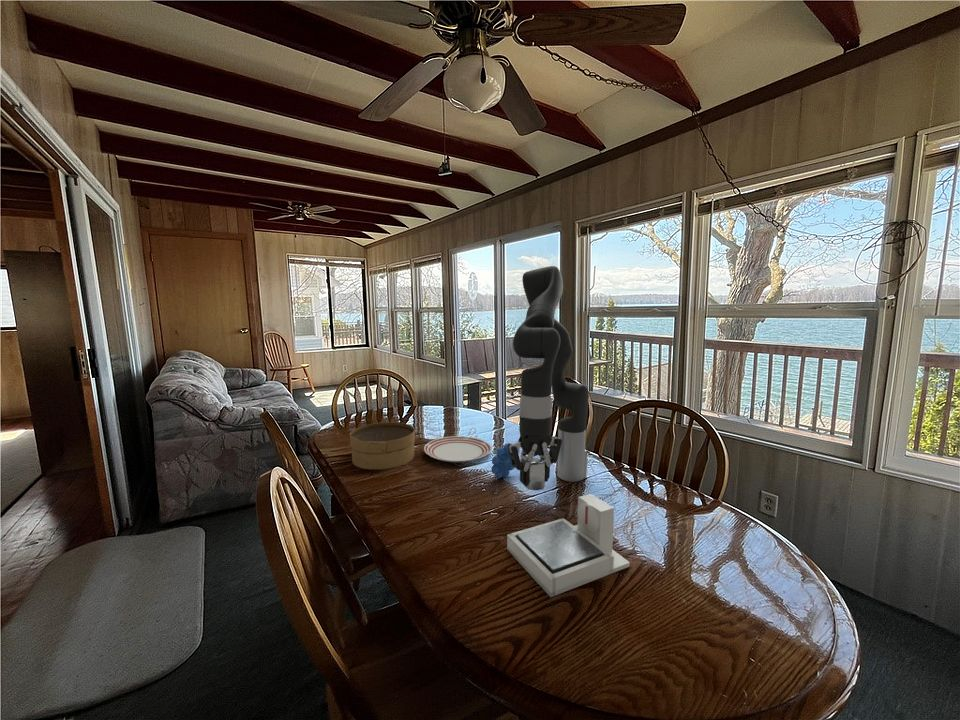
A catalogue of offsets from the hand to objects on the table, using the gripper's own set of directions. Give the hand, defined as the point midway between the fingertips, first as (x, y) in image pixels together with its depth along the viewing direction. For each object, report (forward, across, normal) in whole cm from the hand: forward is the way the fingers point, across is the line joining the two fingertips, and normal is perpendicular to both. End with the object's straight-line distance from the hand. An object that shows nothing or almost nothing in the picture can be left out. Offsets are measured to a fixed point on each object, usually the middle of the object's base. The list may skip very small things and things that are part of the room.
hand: (534, 482), depth 95 cm
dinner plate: (+18, -6, -68) cm, 71 cm away
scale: (+18, -6, +6) cm, 19 cm away
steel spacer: (+1, 0, 0) cm, 1 cm away
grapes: (+18, -13, -42) cm, 47 cm away
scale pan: (+14, -3, +6) cm, 16 cm away
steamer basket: (+18, +22, -78) cm, 82 cm away
